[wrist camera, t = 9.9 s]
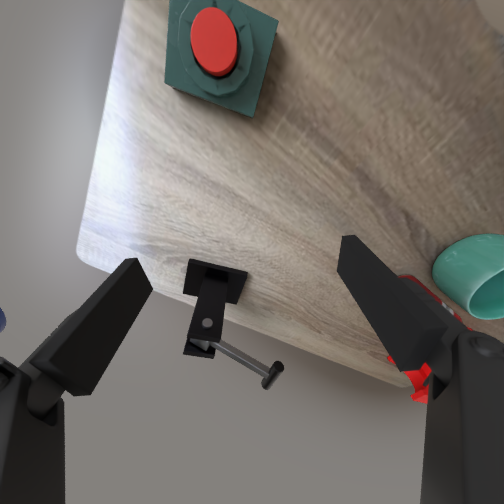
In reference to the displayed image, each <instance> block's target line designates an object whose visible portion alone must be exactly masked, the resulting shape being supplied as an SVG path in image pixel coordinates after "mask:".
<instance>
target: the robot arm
mask: <svg viewBox="0 0 504 504" xmlns="http://www.w3.org/2000/svg"><path fill="white" fill-rule="evenodd" d="M337 272H338V274H339V275H340V277H341V279H342V280H343V282H344V283H345V285H346V286H347V288H348V290H349V291H350V293H351V294H352V296H353V298H354V299H355V301H356V302H357V304H358V305H359V307H360V309H361V310H362V312H363V313H364V315H365V317H366V318H367V320H368V321H369V323H370V324H371V326H372V328H373V329H374V331H375V332H376V334H377V336H378V337H379V339H380V340H381V342H382V343H383V345H384V347H385V348H386V350H387V351H388V353H389V355H390V356H391V358H392V359H393V361H394V362H395V364H396V366H397V367H398V369H399V370H400V372H402V371H415V370H420V369H421V367H422V366H423V364H424V363H425V362H426V363H427V365H428V366H429V367H430V369H431V370H432V371H431V372H430V374H429V375H428V376H427V378H426V379H425V380H424V383H423V386H425V387H426V386H427V385H428V384H429V388H428V402H427V416H426V431H425V444H424V458H423V472H422V486H421V499H420V504H504V344H503V343H502V342H500V341H499V340H497V339H496V338H494V337H491V336H489V335H487V334H485V333H481V332H477V331H471V330H470V329H468V328H467V327H466V326H465V325H464V324H463V323H462V322H460V321H459V320H458V319H457V318H456V317H455V316H454V315H453V314H452V313H450V312H449V311H448V310H447V309H446V308H445V307H444V306H443V305H442V304H440V303H439V302H438V301H436V300H435V298H434V297H433V296H432V295H430V294H428V292H427V291H426V290H425V289H424V288H423V287H422V286H420V285H419V284H418V283H416V282H414V281H413V280H411V279H409V278H407V277H401V278H398V277H397V276H396V275H395V274H394V273H393V272H392V271H391V270H390V269H389V268H388V267H387V266H386V265H385V264H384V263H383V262H382V261H381V260H380V259H379V258H378V257H377V256H376V255H375V254H374V253H373V252H372V251H371V250H370V249H369V248H368V247H367V246H366V245H365V244H364V243H363V242H362V241H361V240H360V239H359V238H358V237H357V236H356V235H348V236H342V241H341V248H340V254H339V260H338V267H337ZM152 290H153V288H152V286H151V284H150V282H149V280H148V278H147V276H146V274H145V272H144V270H143V268H142V266H141V264H140V262H139V260H138V258H129V259H125V260H124V261H123V262H122V263H121V264H120V265H119V266H118V267H117V269H116V270H115V271H114V272H113V273H112V274H111V275H110V276H109V277H108V278H107V279H106V280H105V281H104V282H103V283H102V285H101V286H100V287H99V288H98V289H97V290H96V291H95V292H94V293H93V294H92V295H91V296H90V298H88V299H87V300H86V302H85V303H84V304H83V305H82V306H81V307H80V308H79V309H78V310H76V311H75V312H73V313H72V314H71V315H69V316H68V317H67V318H66V319H65V320H64V321H63V322H62V323H61V324H60V325H59V326H58V328H56V329H55V330H54V331H53V332H52V333H51V336H48V338H47V339H45V341H44V342H43V343H42V344H41V345H40V346H39V347H38V348H37V349H36V350H35V351H34V352H33V353H32V354H31V355H30V356H29V357H28V358H27V359H26V360H25V361H24V363H22V365H21V366H20V367H18V368H17V367H16V366H15V365H13V364H12V363H10V362H9V361H7V360H6V359H4V358H3V357H0V504H65V445H64V444H65V442H64V441H65V436H64V435H65V433H64V401H63V399H62V398H60V397H61V395H62V394H63V392H64V391H65V390H66V391H67V392H69V393H70V394H71V395H73V396H85V395H91V394H92V392H93V390H94V389H95V387H96V385H97V384H98V382H99V380H100V378H101V377H102V375H103V373H104V371H105V370H106V368H107V367H108V365H109V363H110V361H111V360H112V358H113V356H114V355H115V353H116V351H117V350H118V348H119V346H120V344H121V343H122V341H123V339H124V338H125V336H126V334H127V333H128V331H129V329H130V328H131V326H132V324H133V322H134V321H135V319H136V317H137V316H138V314H139V312H140V311H141V309H142V307H143V305H144V304H145V302H146V300H147V299H148V297H149V295H150V294H151V292H152Z"/></svg>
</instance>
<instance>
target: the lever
mask: <svg viewBox="0 0 504 504" xmlns="http://www.w3.org/2000/svg"><path fill="white" fill-rule="evenodd" d="M190 342H192V343H193V344H195V345H197V346H198V347H200V348H202V349H203V350H205V351H207V349H208V347H209V346H212V347H214V348H215V349H217V350H219V351H221V352H222V353H224V354H226V355H227V356H229V357H231V358H232V359H234V360H236V361H237V362H239V363H241V364H242V365H244V366H246V367H247V368H249V369H251V370H253V371H254V372H256V373H258V374H260V375H261V376H263V377H264V378H263V380H262V382H261V384H262V387H263V388H264V389H265V390H268V389H270V388H271V386H272V385H273V383H274V382H275V381H276V380H277V378H278V377H279V376H280V375H281V373H282V372H283V370H284V365H283V364H282V363H281V362H280V361H275V362H274V364H273V365H272V367H271V368H269V367H267V366H266V365H264V364H262V363H261V362H259V361H257V360H255V359H254V358H252V357H250V356H249V355H247V354H245V353H243V352H242V351H240V350H238V349H237V348H235V347H233V346H231V345H230V344H228V343H226V342H225V341H223V340H220V343H215V342H209V341H203V340H197V339H191V338H190Z"/></svg>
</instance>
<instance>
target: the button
mask: <svg viewBox="0 0 504 504" xmlns="http://www.w3.org/2000/svg"><path fill="white" fill-rule="evenodd" d="M191 45H192V49H193V52H194V54H195V57H196V58H197V60H198V62H199V63H200V64H201V66H202V67H203V68H204V70H205V71H207V72H208V73H209V74H211V75H213V76H223V75H226V74H227V73H229V72H230V71H231V70H232V68H233V67H234V65H235V62H236V59H237V52H238V48H237V38H236V32H235V29H234V26H233V24H232V22H231V20H230V19H229V17H228V16H227V15H226V14H225V13H224V12H223V11H221V10H220V9H217V8H214V7H209V8H205V9H203V10H202V11H200V12H199V13H198V14H197V16H196V17H195V19H194V21H193V24H192V28H191Z"/></svg>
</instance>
